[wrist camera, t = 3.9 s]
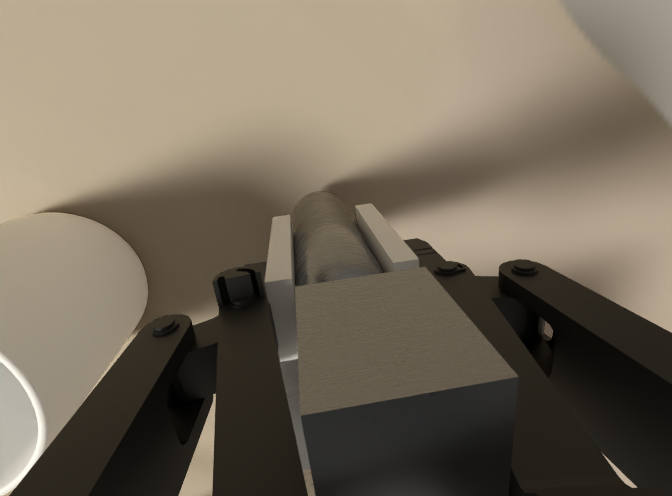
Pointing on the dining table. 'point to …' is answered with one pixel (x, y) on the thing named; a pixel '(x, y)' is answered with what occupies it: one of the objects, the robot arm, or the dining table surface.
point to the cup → (58, 325)
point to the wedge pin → (392, 372)
